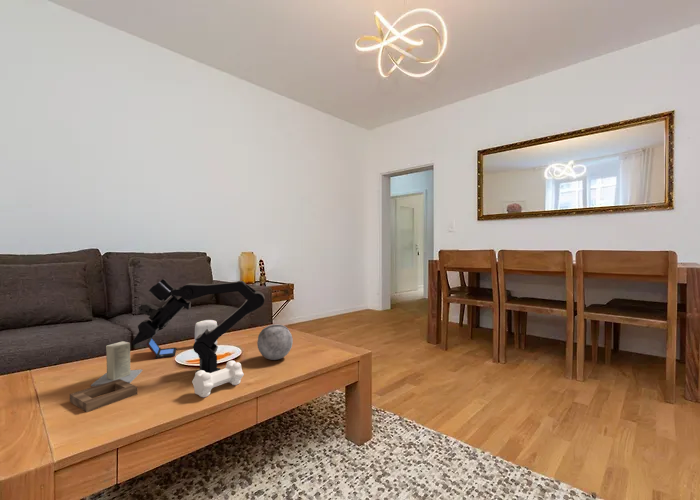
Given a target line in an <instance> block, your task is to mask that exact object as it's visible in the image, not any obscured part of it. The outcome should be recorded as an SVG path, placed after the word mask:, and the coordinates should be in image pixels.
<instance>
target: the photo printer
mask: <svg viewBox="0 0 700 500" xmlns="http://www.w3.org/2000/svg"><path fill="white" fill-rule="evenodd" d="M217 326H218V323H217V321H216V320H213V319H205V320H201V321H198V322H195V325H194V343H195V342H196V338H197V337H198V336H199V335H200V334H202V333H204V332H205V330H206V329H208V331H211V330H213V329H215V328H216V327H217ZM214 344H216V345H217V346H218V339H217V340H216V342H215V343H214Z"/></svg>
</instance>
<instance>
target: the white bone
mask: <svg viewBox="0 0 700 500" xmlns="http://www.w3.org/2000/svg"><path fill="white" fill-rule="evenodd" d="M244 375H245V374H244V372H243V369H242V364H241V363H240V362H239V361H237V362H236V361H235V360H228V361H227V362H226V364H225V368H223V369H222V368H220V370H218V371H215V372H212V373H208V372H205V371H204V370H200V371H197V372H196V371H195V374H194V376H193V379H192V381H191V383H192V384H193V389H194V394H195V395H197V396H199V397H200V398H206V397H209V396H210V395H211V391H212V389H213V388H216V387H218V386H221V385H224V384H227V383H228V384H231V385H232V386H237V385H239V384H241V380H242V378H243V377H244Z"/></svg>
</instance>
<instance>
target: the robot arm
mask: <svg viewBox="0 0 700 500" xmlns="http://www.w3.org/2000/svg"><path fill="white" fill-rule="evenodd" d="M148 292H149V293H150V294H151V295H152V296H153V297H155V298H156V299H157V300H158V301H159V302H166V303H164V304H163V305H161V306H160V307H159V306H157V305H155V304H153V303H150V302H147V301H145V302H143V303H141V304H140V306H139V307H138V309H137V310H138V311H137V313H139V314H144V315H145V316H148V319H144V320H143V321H141V322H140V323H139V324H138V325H137V329H138V333H137V335H136V336H135V337H134V339H133V340H132V341H131V345H133V346H135V345H137V344H139V343H142V342H144V341H146V340H147V341H148V340H149V338H153V337H154V336H156V334H158V333H159V332H160V331H162V330H164V328H166V327H167V326H168V325H169V324H171V320H173V318H175V317H176V316H177V314H178V313H180V312H181V311H182V310H183V309H184V308H185V309H186V310H190V309H191V308H192V307H191V306H192V305H191V304H192V301H190V300H193V299H198V298H201V297H204V296H208V295H216V294H226V293H235V292H238V293H239V294H240V295H241V296H243V298H245V299H246V300H245V301H244V303H243V304H242V305H241V306H240V307H238V308H237V309H236V310H235V311H234V312H233V313H231V314H230V315H229V316H228V317H227V318H225V319H224V320H222V322H221V323H219V324H217V327H216V328H215V329H213V330H211V331H208V329H206V330H205V332H204V333H202V334H200V335H199V336H198V337H197V338H196V342H195V341H194V343H193V344H192V346H193V347H192V348H193V351H194V352H195V353H196V354H197V355H198V358H199V369H197V370H196V371H195V373H196V372H197V371H200V370H204V371H205V372H208V373H212V372H215V371H218V370H221V368H220V367H218V354H216V352H217V351H218V348H219V346H218V344H217V345H216V344H214V343H215V342H216V340H217V341H218V339H219V338H221V336H224V334H225V333H227V331H229V330H230V329H231V328H232V327H234V325H236V324H237V323H238V322H239V321H241V320H242V319H243V318H245V317H246V316H247V315H248V314H250V313H252V312H254V311H256V310H258V309H259V308H261V307H262V306H263V305H264V303H265V298H266V297H265V294H264V293H263V292H261V291H258V290H257V291H256V290H255V289H254V288H253V287H251V286H250V285H249V284H247V283H246V282H244V280H238V281H231V282H219V283H209V284H207V283H196V282H195V283H194V282H190V283H187V284H185V285H183V286H181V287H179V286H178V287H174V286H173V285H172V284H170V282H169V281H168V280H167V279H165V278H163V279H161V280H160V281H159V282H157V283H156V284H154V285H153V286H152V287H151V288H150V289H149V290H148Z"/></svg>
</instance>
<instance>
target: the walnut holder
mask: <svg viewBox="0 0 700 500" xmlns="http://www.w3.org/2000/svg"><path fill="white" fill-rule="evenodd" d="M136 395H138V386H136V385H135V384H133V383H128V382H125V381H123V380H121V379H118V380H114V381H111V382H108V383H105V384H101V385H98V386H91V387H89V388H85V389H82V390H78V391H76V392H72V393H70V394H69V403H71V404H72V405H74V406H76V407H77V408H79V409H80V410H82V411H84V412H86V413H88V412H91V411H94V410H97V409H101V408H102V407H105V406H109V405H112V404H113V403H114V404H115V403H116V402H117V403H118V402H120V401H122V400H126V399H127V398H132V397H134V396H136Z"/></svg>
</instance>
